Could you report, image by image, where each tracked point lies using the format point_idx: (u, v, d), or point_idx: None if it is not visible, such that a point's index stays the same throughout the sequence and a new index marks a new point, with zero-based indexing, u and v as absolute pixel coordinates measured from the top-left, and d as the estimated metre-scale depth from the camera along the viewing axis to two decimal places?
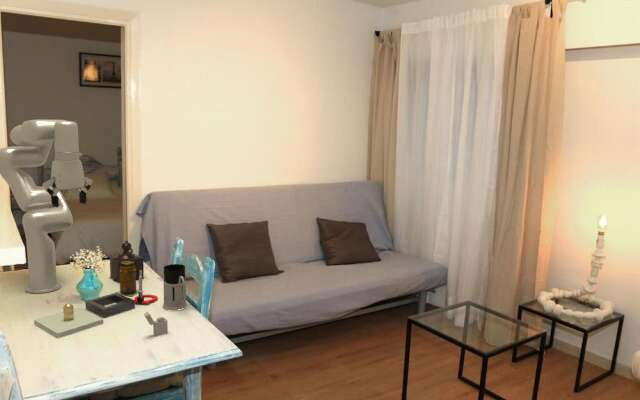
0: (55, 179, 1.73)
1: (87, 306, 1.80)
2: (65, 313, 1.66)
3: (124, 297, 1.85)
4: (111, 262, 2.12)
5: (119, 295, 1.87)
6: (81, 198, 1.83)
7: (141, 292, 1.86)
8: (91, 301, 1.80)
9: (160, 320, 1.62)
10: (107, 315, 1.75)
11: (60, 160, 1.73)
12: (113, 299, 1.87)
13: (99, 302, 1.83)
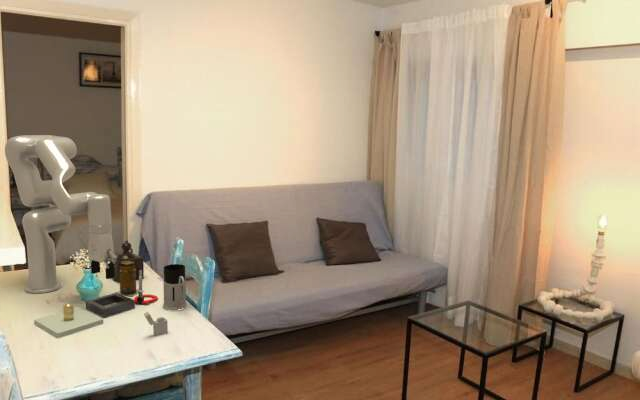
0: (112, 251, 1.79)
1: (87, 306, 1.80)
2: (65, 313, 1.66)
3: (124, 297, 1.85)
4: None
5: (119, 295, 1.87)
6: (96, 268, 1.85)
7: (141, 292, 1.86)
8: (91, 301, 1.80)
9: (160, 320, 1.62)
10: (107, 315, 1.75)
11: (110, 232, 1.80)
12: (113, 299, 1.87)
13: (99, 302, 1.83)
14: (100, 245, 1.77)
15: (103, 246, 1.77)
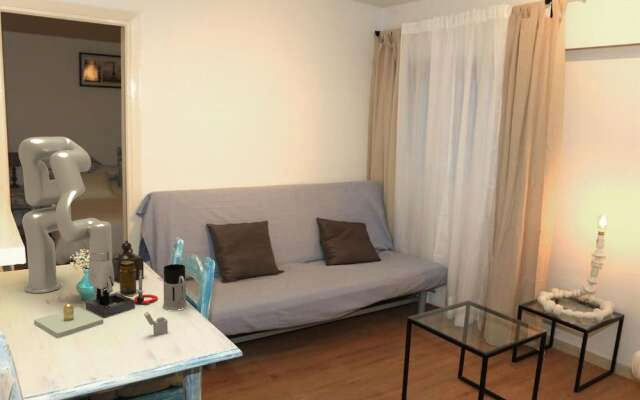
0: (112, 278, 1.81)
1: (87, 306, 1.80)
2: (65, 313, 1.66)
3: (124, 297, 1.85)
4: None
5: (119, 295, 1.87)
6: None
7: (141, 292, 1.86)
8: (91, 301, 1.80)
9: (160, 320, 1.62)
10: (107, 315, 1.75)
11: (110, 259, 1.82)
12: (113, 299, 1.87)
13: (99, 302, 1.83)
14: (100, 272, 1.78)
15: (103, 273, 1.79)
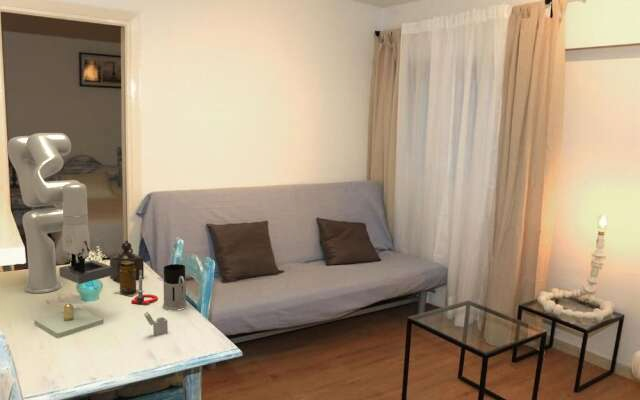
0: (88, 242, 1.71)
1: (61, 273, 1.69)
2: (65, 313, 1.66)
3: (101, 264, 1.75)
4: (111, 262, 2.12)
5: (96, 262, 1.77)
6: None
7: (141, 292, 1.86)
8: (66, 268, 1.70)
9: (160, 320, 1.62)
10: (83, 281, 1.65)
11: (86, 223, 1.71)
12: (89, 267, 1.77)
13: (74, 269, 1.73)
14: (75, 236, 1.68)
15: (78, 238, 1.68)
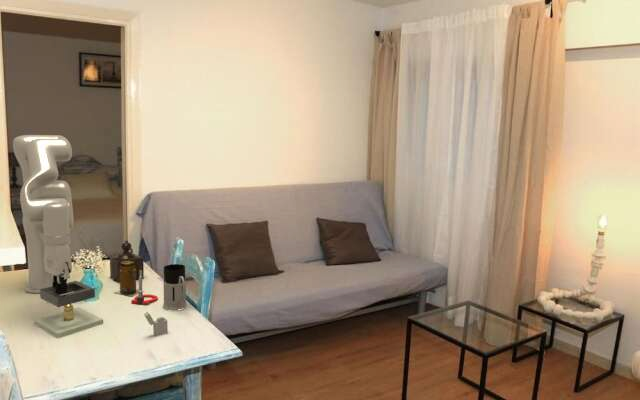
0: (69, 263, 1.66)
1: (42, 295, 1.65)
2: (65, 313, 1.66)
3: (83, 285, 1.70)
4: (111, 262, 2.12)
5: (78, 283, 1.72)
6: None
7: (141, 292, 1.86)
8: (46, 289, 1.65)
9: (160, 320, 1.62)
10: (62, 304, 1.59)
11: (67, 243, 1.66)
12: (72, 288, 1.72)
13: (56, 291, 1.68)
14: (56, 257, 1.63)
15: (59, 258, 1.63)
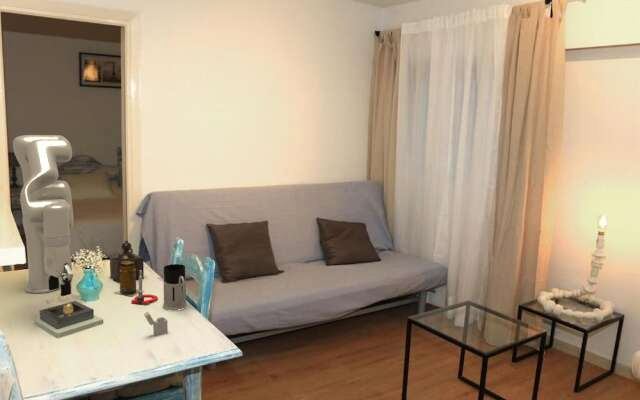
0: (69, 265, 1.66)
1: (41, 316, 1.67)
2: (65, 313, 1.66)
3: (82, 306, 1.72)
4: (111, 262, 2.12)
5: (77, 304, 1.74)
6: (54, 284, 1.72)
7: (141, 292, 1.86)
8: (46, 311, 1.67)
9: (160, 320, 1.62)
10: (61, 326, 1.61)
11: (67, 244, 1.66)
12: None
13: (55, 311, 1.70)
14: (56, 259, 1.63)
15: (59, 260, 1.63)
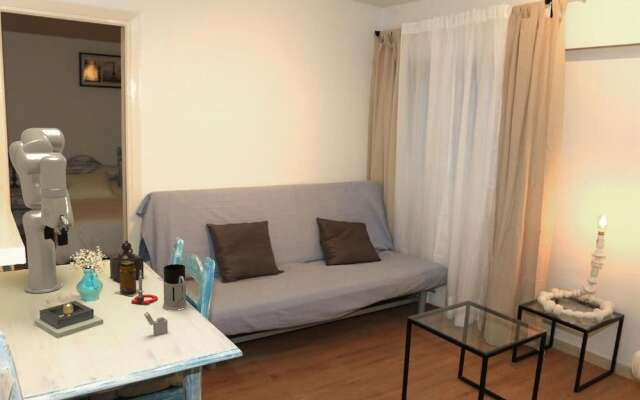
0: (65, 216, 1.69)
1: (41, 316, 1.67)
2: (65, 313, 1.66)
3: (82, 306, 1.72)
4: (111, 262, 2.12)
5: (77, 304, 1.74)
6: (49, 233, 1.75)
7: (141, 292, 1.86)
8: (46, 311, 1.67)
9: (160, 320, 1.62)
10: (61, 326, 1.61)
11: (64, 196, 1.69)
12: None
13: (55, 311, 1.70)
14: (52, 210, 1.66)
15: (55, 211, 1.66)
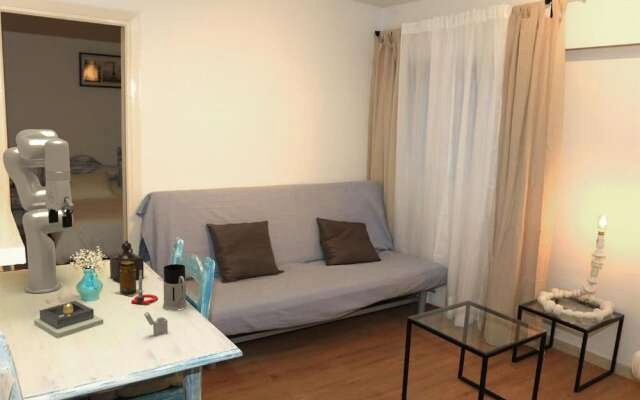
0: (69, 199, 1.73)
1: (41, 316, 1.67)
2: (65, 313, 1.66)
3: (82, 306, 1.72)
4: (111, 262, 2.12)
5: (77, 304, 1.74)
6: (54, 217, 1.79)
7: (141, 292, 1.86)
8: (46, 311, 1.67)
9: (160, 320, 1.62)
10: (61, 326, 1.61)
11: (68, 179, 1.74)
12: None
13: (55, 311, 1.70)
14: (57, 192, 1.70)
15: (60, 193, 1.71)
